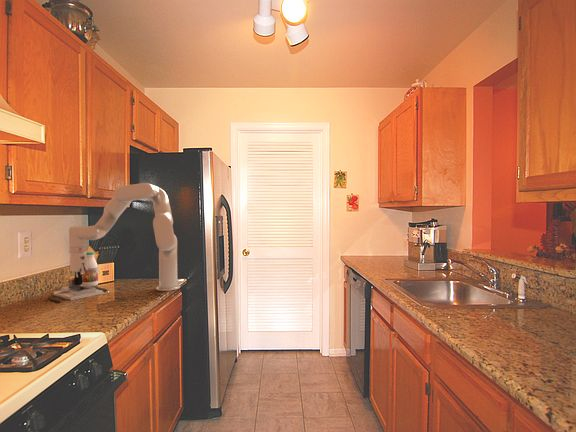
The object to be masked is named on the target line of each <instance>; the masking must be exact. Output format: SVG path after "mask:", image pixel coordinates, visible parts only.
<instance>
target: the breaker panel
mask: <svg viewBox="0 0 576 432" xmlns="http://www.w3.org/2000/svg"><path fill="white" fill-rule="evenodd" d="M94 287H95V286H92V287H90V286H86V285H83V284H81V290H76V289H72V288H69V285H67V286H61V287H60V290H58V291H53V296H56V297H58V298H63V299H65V300H67V301H75V300H81V299H85V298H91V297H95V296H98V295H103V294H104V292H103V291H101V290H97V289H96V288H94Z"/></svg>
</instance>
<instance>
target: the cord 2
mask: <svg viewBox="0 0 576 432" xmlns="http://www.w3.org/2000/svg"><path fill="white" fill-rule="evenodd" d="M93 287H94V288H96V289H97V290H101V291H103V293H104V292H107V291H108V289H106V288H104V287H103V288H102V287H101V286H100V287H99V286H97V285H96V286H93Z"/></svg>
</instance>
